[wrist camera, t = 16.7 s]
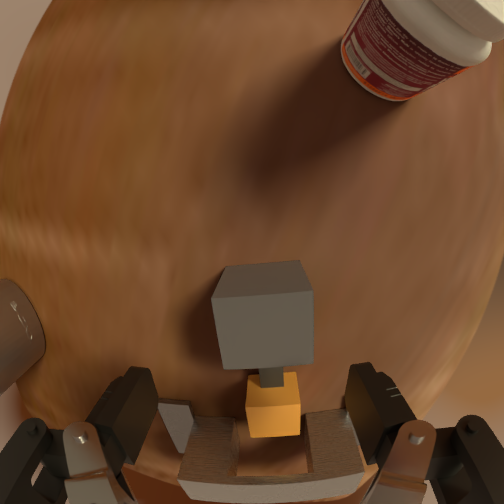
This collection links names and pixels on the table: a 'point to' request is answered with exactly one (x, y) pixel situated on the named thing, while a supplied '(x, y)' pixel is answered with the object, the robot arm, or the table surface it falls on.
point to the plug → (266, 338)
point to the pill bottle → (418, 43)
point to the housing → (261, 487)
